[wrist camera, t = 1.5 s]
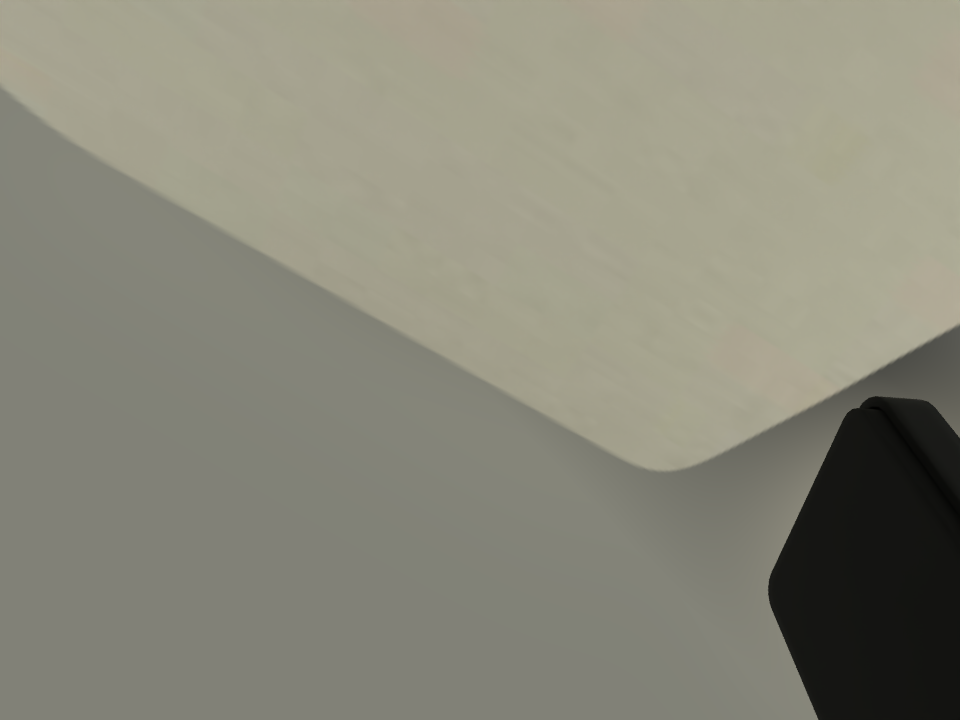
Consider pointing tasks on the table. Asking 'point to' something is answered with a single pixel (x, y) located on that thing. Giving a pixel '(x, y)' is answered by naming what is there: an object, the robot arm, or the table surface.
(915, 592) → the robot arm
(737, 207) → the table surface
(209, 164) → the table surface
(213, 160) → the table surface
